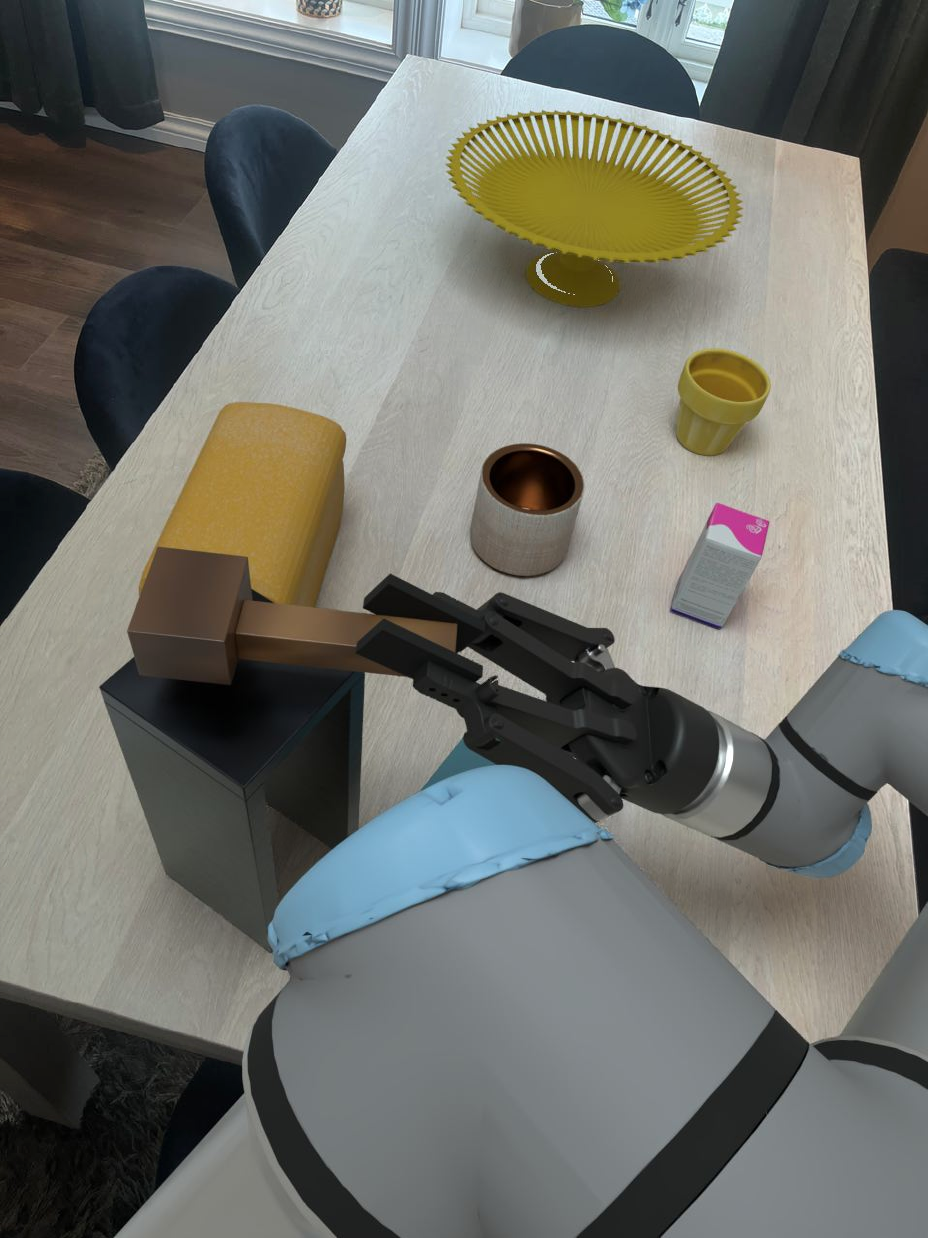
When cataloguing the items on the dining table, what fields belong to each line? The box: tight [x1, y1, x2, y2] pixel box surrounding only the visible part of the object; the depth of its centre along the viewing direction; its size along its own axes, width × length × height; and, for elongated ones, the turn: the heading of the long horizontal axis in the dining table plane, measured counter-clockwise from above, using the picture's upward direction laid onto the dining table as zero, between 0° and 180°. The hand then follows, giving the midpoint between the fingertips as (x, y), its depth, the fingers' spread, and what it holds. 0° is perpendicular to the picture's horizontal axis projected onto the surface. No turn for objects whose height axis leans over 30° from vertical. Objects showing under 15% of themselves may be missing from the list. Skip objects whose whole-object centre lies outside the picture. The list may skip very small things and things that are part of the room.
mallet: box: [126, 547, 458, 685], centre depth 51 cm, size 17×6×4 cm, turn 87°
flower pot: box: [675, 347, 772, 456], centre depth 112 cm, size 10×10×10 cm
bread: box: [138, 401, 347, 608], centre depth 88 cm, size 24×13×15 cm, turn 172°
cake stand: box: [445, 109, 744, 308], centre depth 129 cm, size 40×40×15 cm
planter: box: [469, 442, 585, 577], centre depth 98 cm, size 11×11×10 cm
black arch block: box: [98, 588, 366, 954], centre depth 66 cm, size 11×11×27 cm
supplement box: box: [669, 502, 770, 630], centre depth 94 cm, size 6×6×12 cm
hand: (373, 613), depth 50 cm, fingers closed on mallet, 2 cm apart
